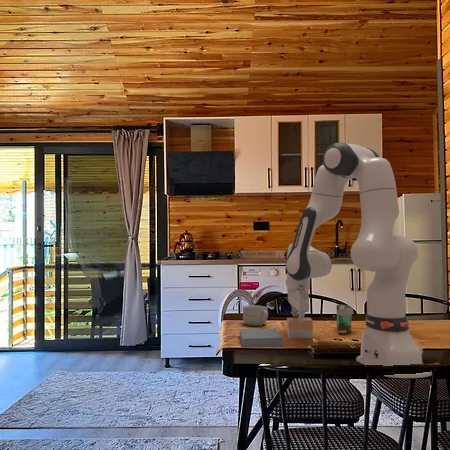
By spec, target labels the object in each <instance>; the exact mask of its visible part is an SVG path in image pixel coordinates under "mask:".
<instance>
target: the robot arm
mask: <svg viewBox="0 0 450 450" xmlns="http://www.w3.org/2000/svg"><path fill="white" fill-rule="evenodd" d="M394 174H395V173H394V172H393V167H392V166H391V163H390V161H389V160H388V159H387V158H383V157H380V155H379V154H378V153H377V152H376V151H375V150H373V149H372V148H370V147H364V146H361V145H359V144H355V143H345V142H335V143H332V144H330V145H329V146H328V147H326V149H325V150H324V153H323V155H322V165H320V166H319V167H318V169H317V171H316V175H315V177H314V181H313V185H312V190H311V195H310V199H309V202H308V204H307V206H306V208H305V209H304V210H303V211H302V212H301V213H302V214H301V215H300V218H299V222H298V225H297V228H296V232H295V236H294V240H293V242H291V243H289V244H288V247H287V251H286V252H287V254H286V260H285V270H286V280H285V286H286V288H287V291H286V292H287V299H288V303H289V304H290V305H291V310H292V316H293V318H298V321H299V322H304V318H305V315H306V313H309V312H310V311H309V310H310V297H309V292H308V291H307V290H308V289H311V279H316V278H323V277H326V276H328V275H329V274H330V272H331V270H332V266H333V264H332V259H331V257H330V255H329V254H328V253H327V252H325V251H322V250H319V249H316V248H315V247H313V246H312V240H313V238H314V234H315V232H316V230H317V229H318V228H319V226H321V225H322V224H324V223H325V222H327V221H329V220H331V219H333V218H335V217H336V216H337V215H338V214H339V212H340V210H341V207H342V204H343V199H344V193H345V187H346V184H347V183H348V182H349V181H350V180H352V181H354V182H355V181H357V183H358V190H359V193H358V194H359V200H360V201H359V202H360V211H361V212H360V213H361V221H360V222H361V223H360V229H359V233H358V235H357V239H355V241H354V242H353V244H352V245H351V248H350V258H351V261H352V263H353V264H354V266H356V267H357V268H358V269H360V270H363V271H368V272H375V273H374V276H373V279H372V281H371V283H370V284H369V285H368V287H367V289H366V313H365V319H364V320H365V325H366V327H365V329H364V331H363V332H362V334H361V337H360V338H361V340H360V355H358V356H357V357H356V359H355V360H356V362H358V363H360V364H361V365H363V364H364V365H363V366H365V365H383V366H393V365H410V364H422V363H423V357H422V356H423V353H424V350H423V347H422V346H421V345H420V346H419V345H418V344H417V342H416V340H415V339H414V338H413V335H412V334H411V332H410V331H409V329H410V325H409V324H410V323H409V321H408V318H407V315H406V289H407V283H408V280H409V275H410V272H411V269H412V266H413V265H414V264H415V263H416V260H417V259H418V257H419V249H418V246H417V243H415V241H413V240H412V239H411V238H409V237H406V236H403V235H399V234H396V235H395V234H393V231H394V226H395V225H394V224H395V222H396V219H398V217H399V215H400V209H399V208H400V207H399V198H398V191H397V185H396V184H397V183H396V180H395V179H396V178H395V175H394ZM430 376H433V373H432V371H431V372H423V373H416V374H394V375H384V376H383V377H388V378H397V379H420V378H422V379H423V378H428V377H430Z"/></svg>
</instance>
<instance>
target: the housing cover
mask: <svg viewBox="0 0 450 450" xmlns="http://www.w3.org/2000/svg"><path fill="white" fill-rule="evenodd" d="M287 327H288V329H289V330H314V329H313V327H314V323H313V319H312V318H311V317H304V322H299V321H298V317H287V318H286V328H287Z"/></svg>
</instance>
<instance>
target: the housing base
mask: <svg viewBox="0 0 450 450" xmlns="http://www.w3.org/2000/svg"><path fill="white" fill-rule="evenodd" d="M313 330H314V329H313ZM313 330H289V329H288V327H287V326H286V336H287V337H288V339H313V338H314V331H313Z"/></svg>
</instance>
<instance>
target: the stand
mask: <svg viewBox="0 0 450 450" xmlns="http://www.w3.org/2000/svg"><path fill="white" fill-rule="evenodd" d="M239 339H240V343H241V345H242V348H262V347H263V348H265V347H267V348H269V347H272V348H273V347H275V348H276V347H283V346H284V341H283V336H282V335H281V334H280V332H279V331H278V330H277V328H274V327H271V328H239Z"/></svg>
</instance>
